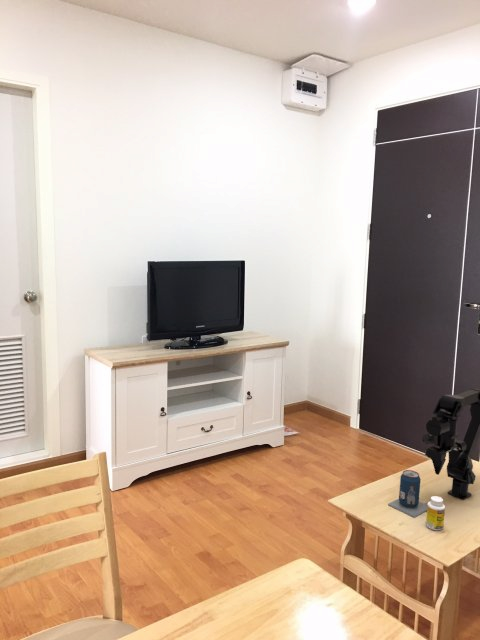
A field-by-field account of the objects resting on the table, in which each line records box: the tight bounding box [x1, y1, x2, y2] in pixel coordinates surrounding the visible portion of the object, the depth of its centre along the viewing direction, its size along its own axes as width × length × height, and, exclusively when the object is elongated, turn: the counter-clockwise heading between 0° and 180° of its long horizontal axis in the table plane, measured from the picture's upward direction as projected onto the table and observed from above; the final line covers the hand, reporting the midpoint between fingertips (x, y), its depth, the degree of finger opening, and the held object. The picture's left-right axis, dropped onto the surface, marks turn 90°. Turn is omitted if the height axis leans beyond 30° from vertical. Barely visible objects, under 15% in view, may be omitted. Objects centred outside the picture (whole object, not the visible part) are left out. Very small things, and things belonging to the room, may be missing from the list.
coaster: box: [387, 498, 428, 519], centre depth 194 cm, size 11×11×1 cm
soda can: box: [398, 469, 421, 508], centre depth 194 cm, size 7×7×12 cm
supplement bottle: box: [425, 495, 446, 531], centre depth 180 cm, size 6×6×10 cm
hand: (443, 471), depth 194 cm, fingers open, 9 cm apart
